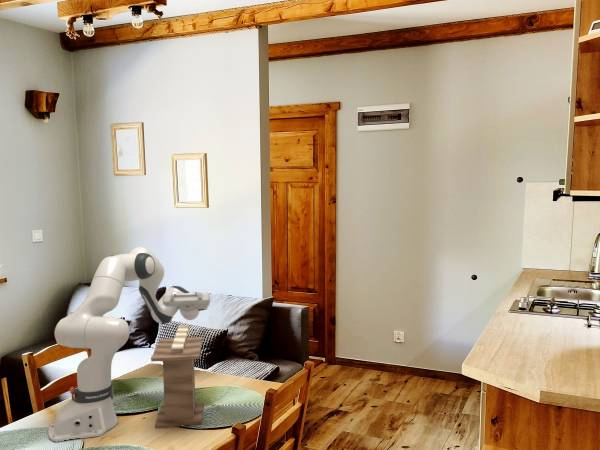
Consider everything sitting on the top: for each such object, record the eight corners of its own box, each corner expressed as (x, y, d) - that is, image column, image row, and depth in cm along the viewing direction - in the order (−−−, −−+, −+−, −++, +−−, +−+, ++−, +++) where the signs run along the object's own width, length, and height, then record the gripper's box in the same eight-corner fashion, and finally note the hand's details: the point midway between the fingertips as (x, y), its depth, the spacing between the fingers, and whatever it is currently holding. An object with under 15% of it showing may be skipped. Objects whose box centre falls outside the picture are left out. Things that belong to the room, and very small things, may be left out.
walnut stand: (162, 405, 198) (159, 339, 196) (204, 402, 200) (202, 337, 198) (153, 432, 176) (151, 358, 174) (201, 429, 178) (199, 355, 176)
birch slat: (179, 329, 208) (178, 325, 208) (189, 329, 209) (189, 325, 209) (170, 353, 179) (170, 349, 178) (182, 353, 179) (182, 348, 179)
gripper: (164, 297, 230) (160, 287, 217) (210, 295, 232) (209, 286, 220) (164, 311, 227) (159, 302, 214) (210, 309, 230) (209, 300, 217)
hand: (185, 294), depth 217 cm, fingers open, 8 cm apart
